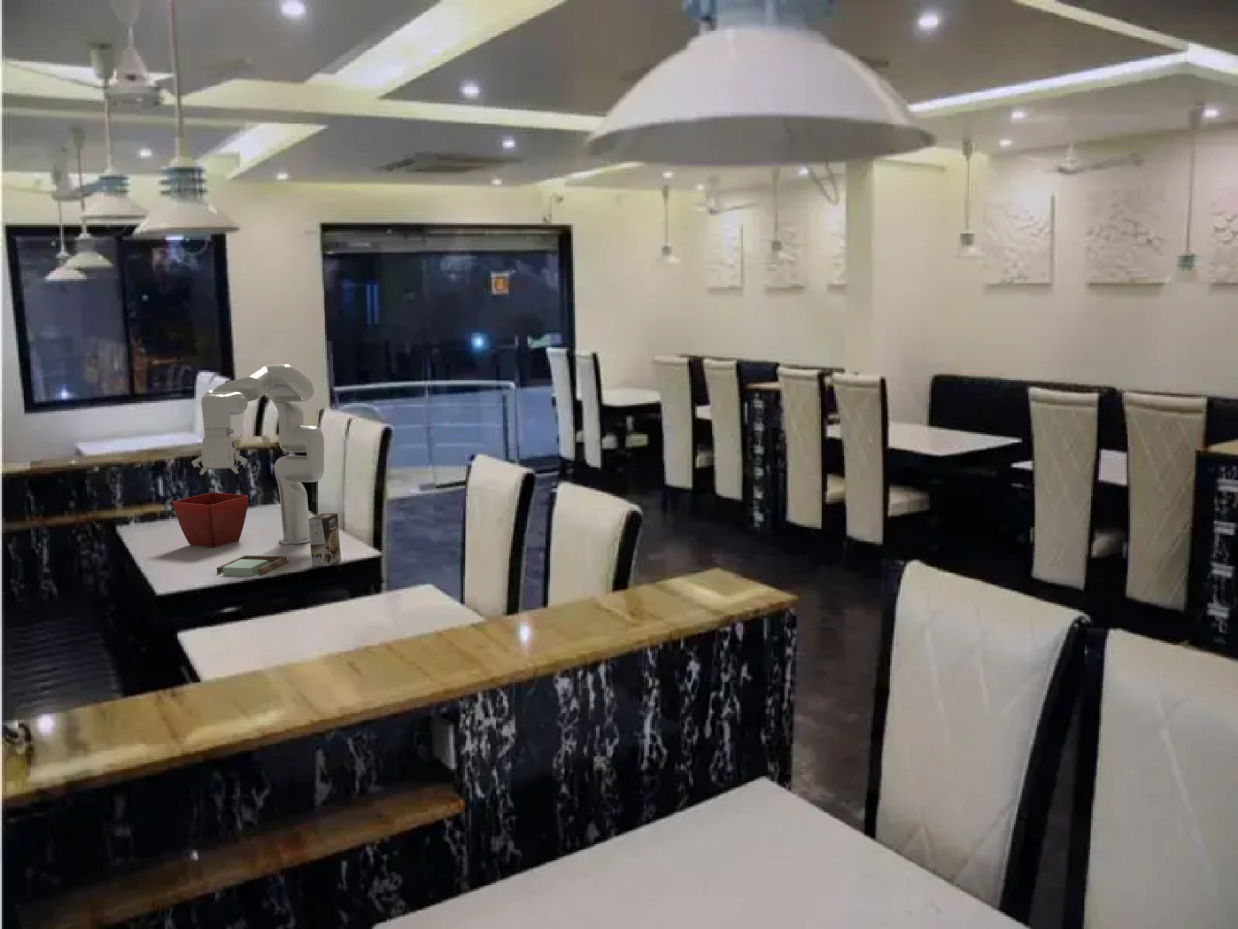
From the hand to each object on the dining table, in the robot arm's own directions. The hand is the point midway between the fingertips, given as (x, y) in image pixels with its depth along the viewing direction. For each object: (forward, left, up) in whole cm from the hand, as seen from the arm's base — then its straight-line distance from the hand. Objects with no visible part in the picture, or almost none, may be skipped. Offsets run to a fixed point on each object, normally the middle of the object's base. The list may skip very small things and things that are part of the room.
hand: (221, 485), depth 323 cm
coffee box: (-16, +26, -29) cm, 42 cm away
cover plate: (-3, +4, -29) cm, 30 cm away
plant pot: (-38, -31, -29) cm, 57 cm away
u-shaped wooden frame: (-7, +4, -29) cm, 30 cm away
